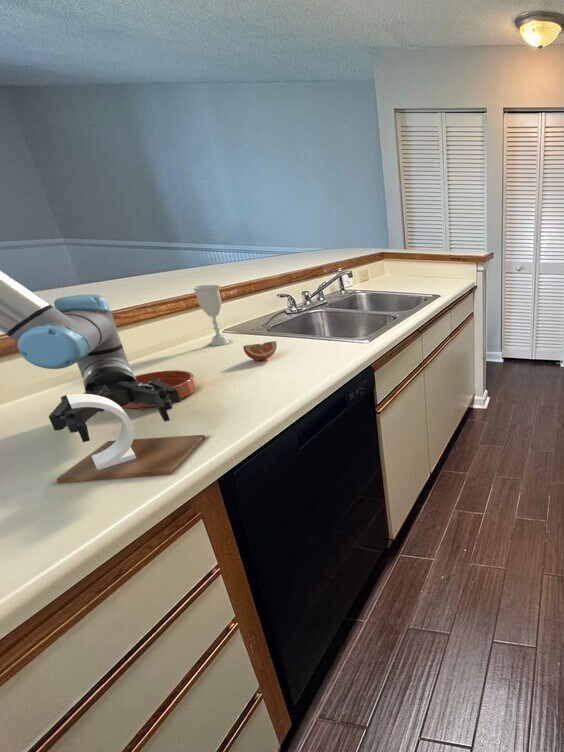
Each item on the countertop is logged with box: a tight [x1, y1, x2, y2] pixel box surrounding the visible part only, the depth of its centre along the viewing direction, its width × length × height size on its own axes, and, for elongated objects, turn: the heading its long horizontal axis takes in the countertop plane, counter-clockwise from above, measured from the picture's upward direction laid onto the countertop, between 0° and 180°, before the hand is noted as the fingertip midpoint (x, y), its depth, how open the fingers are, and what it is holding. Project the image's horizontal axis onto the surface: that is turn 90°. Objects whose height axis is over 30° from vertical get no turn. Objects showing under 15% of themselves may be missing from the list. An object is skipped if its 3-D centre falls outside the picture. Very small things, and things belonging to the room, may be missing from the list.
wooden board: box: [56, 434, 206, 484], centre depth 74 cm, size 16×12×1 cm
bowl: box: [121, 369, 198, 409], centre depth 97 cm, size 15×15×4 cm
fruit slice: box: [243, 340, 278, 361], centre depth 121 cm, size 8×7×5 cm
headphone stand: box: [66, 393, 136, 470], centre depth 70 cm, size 5×6×12 cm
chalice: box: [192, 284, 230, 346], centre depth 133 cm, size 7×7×18 cm
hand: (126, 423), depth 68 cm, fingers open, 9 cm apart
